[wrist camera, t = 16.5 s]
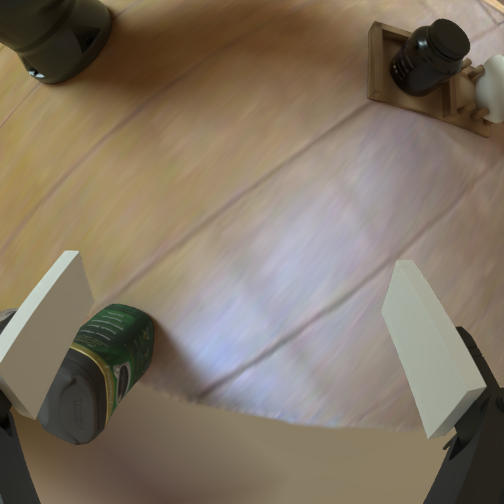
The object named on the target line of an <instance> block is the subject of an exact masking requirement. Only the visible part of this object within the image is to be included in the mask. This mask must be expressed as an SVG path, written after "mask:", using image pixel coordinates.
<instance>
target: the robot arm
mask: <svg viewBox="0 0 504 504" xmlns="http://www.w3.org/2000/svg"><path fill="white" fill-rule="evenodd" d="M111 26H112V19H111V15H110V13H109V11H108V10H107V8H106V7H105V6H104V4H103V3H102V2H100V1H99V0H0V43H2V44H4V45H5V46H7V47H9V48H10V49H12V50H14V51H15V52H16V53H17V55H18V56H19V58H20V60H21V61H22V63H23V65H24V67H25V68H26V70H27V72H28V73H29V74H30V75H31V76H32V77H34V78H36V79H37V80H39V81H41V82H43V83H48V84H53V83H59V82H62V81H65V80H67V79H69V78H71V77H73V76H75V75H76V74H78V73H79V72H80V71H82V70H83V69H84V68H85V67H87V66H88V65H89V64H90V63H91V62H92V61H93V60H94V59H95V58H96V56H97V55H98V54H99V53H100V51H101V50H102V48H103V47H104V45H105V43H106V41H107V39H108V37H109V34H110V31H111ZM93 304H94V299H93V296H92V293H91V290H90V286H89V283H88V280H87V276H86V273H85V269H84V266H83V262H82V258H81V255H80V251H65V252H64V253H63V254H62V255H61V256H60V257H59V259H58V260H57V261H56V262H55V263H54V265H53V266H52V267H51V268H50V269H49V271H48V272H47V273H46V274H45V275H44V277H43V278H42V279H41V280H40V282H39V283H38V284H37V286H36V287H35V288H34V289H33V291H32V292H31V293H30V295H29V296H28V297H27V298H26V300H25V301H24V302H23V304H22V305H21V306H20V308H19V309H18V311H17V312H13V313H12V314H11V315H9V316H8V317H7V318H6V319H5V320H4V321H3V322H2V324H1V325H0V504H41V503H40V500H39V498H38V496H37V493H36V490H35V488H34V485H33V482H32V479H31V477H30V474H29V471H28V468H27V465H26V462H25V459H24V455H23V452H22V449H21V446H20V442H19V438H18V434H17V431H16V427H15V423H14V418H13V416H12V414H11V412H10V411H9V410H10V408H11V406H12V405H13V406H14V408H15V409H16V410H17V411H18V412H19V414H21V415H24V416H27V417H29V418H32V419H36V417H37V415H38V412H39V410H40V408H41V405H42V403H43V401H44V399H45V397H46V394H47V392H48V390H49V388H50V386H51V384H52V382H53V380H54V377H55V375H56V373H57V371H58V369H59V367H60V365H61V363H62V361H63V359H64V357H65V355H66V353H67V351H68V349H69V348H70V346H71V344H72V342H73V340H74V338H75V336H76V334H77V332H78V331H79V329H80V327H81V325H82V323H83V321H84V320H85V318H86V316H87V314H88V312H89V311H90V309H91V307H92V305H93ZM381 313H382V315H383V318H384V320H385V323H386V325H387V327H388V330H389V332H390V335H391V337H392V340H393V342H394V345H395V347H396V350H397V353H398V355H399V358H400V360H401V363H402V366H403V368H404V371H405V374H406V376H407V379H408V382H409V385H410V387H411V390H412V393H413V396H414V399H415V402H416V405H417V408H418V411H419V414H420V417H421V420H422V423H423V426H424V429H425V432H426V435H427V438H428V439H431V438H435V437H440V436H444V435H446V434H447V433H448V432H449V431H450V430H451V429H452V428H453V427H454V426H455V429H456V432H457V433H456V434H455V436H453V438H452V439H451V440H450V441H449V442H448V443H447V444H446V445H445V446H444V448H443V449H444V450H446V449H447V448H448V447H449V446H450V447H449V449H448V452H447V454H446V457H445V459H444V461H443V463H442V466H441V468H440V470H439V472H438V475H437V477H436V479H435V481H434V483H433V485H432V487H431V489H430V491H429V493H428V495H427V497H426V499H425V501H424V503H423V504H504V388H500V387H499V385H498V383H497V381H496V380H495V378H494V376H493V374H492V372H491V370H490V368H489V366H488V364H487V363H486V361H485V359H484V357H482V354H481V352H480V350H479V348H477V345H476V343H475V341H474V340H473V338H472V336H471V335H470V334H469V333H468V332H467V331H466V330H465V329H464V328H463V327H455V326H454V325H453V323H452V321H451V320H450V318H449V316H448V315H447V313H446V311H445V310H444V308H443V306H442V305H441V303H440V301H439V300H438V298H437V297H436V295H435V293H434V292H433V290H432V289H431V287H430V286H429V284H428V283H427V281H426V280H425V278H424V276H423V275H422V273H421V272H420V270H419V269H418V267H417V266H416V265H415V263H414V262H413V260H397V261H396V264H395V268H394V271H393V274H392V278H391V281H390V284H389V288H388V291H387V294H386V297H385V300H384V303H383V307H382V310H381Z"/></svg>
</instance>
